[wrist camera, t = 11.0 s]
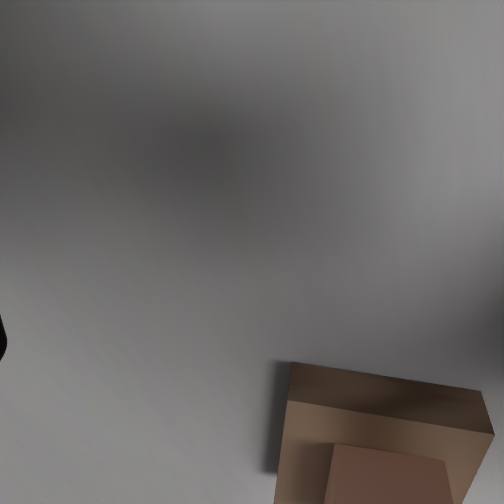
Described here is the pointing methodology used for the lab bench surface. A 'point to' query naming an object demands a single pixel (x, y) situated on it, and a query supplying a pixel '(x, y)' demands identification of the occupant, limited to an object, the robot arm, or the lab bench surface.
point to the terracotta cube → (385, 478)
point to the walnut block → (376, 427)
